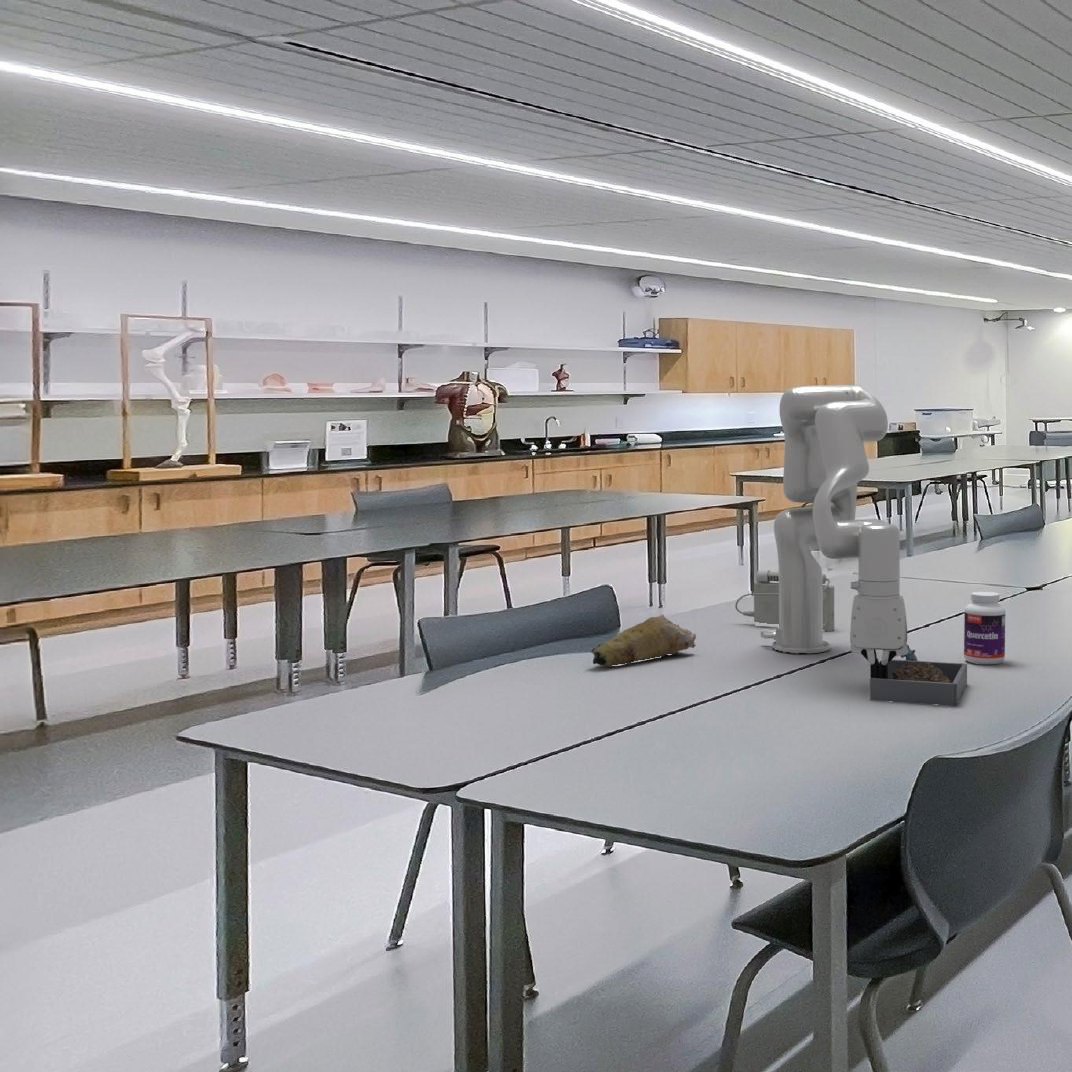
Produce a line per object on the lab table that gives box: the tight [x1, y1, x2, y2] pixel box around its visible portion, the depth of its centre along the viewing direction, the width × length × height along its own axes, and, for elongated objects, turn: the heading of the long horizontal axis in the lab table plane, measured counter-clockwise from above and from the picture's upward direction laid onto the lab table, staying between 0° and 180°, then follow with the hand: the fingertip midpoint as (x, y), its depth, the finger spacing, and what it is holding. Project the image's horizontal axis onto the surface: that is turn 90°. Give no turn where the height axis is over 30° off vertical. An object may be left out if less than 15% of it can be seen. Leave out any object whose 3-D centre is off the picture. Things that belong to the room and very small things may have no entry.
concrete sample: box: [892, 663, 953, 683], centre depth 235 cm, size 12×10×5 cm
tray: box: [869, 659, 968, 707], centre depth 236 cm, size 15×19×4 cm
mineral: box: [590, 614, 697, 667], centre depth 272 cm, size 26×9×10 cm
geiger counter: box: [734, 569, 835, 632], centre depth 306 cm, size 14×6×25 cm
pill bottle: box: [963, 591, 1006, 666], centre depth 260 cm, size 8×8×14 cm
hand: (879, 683), depth 239 cm, fingers closed
